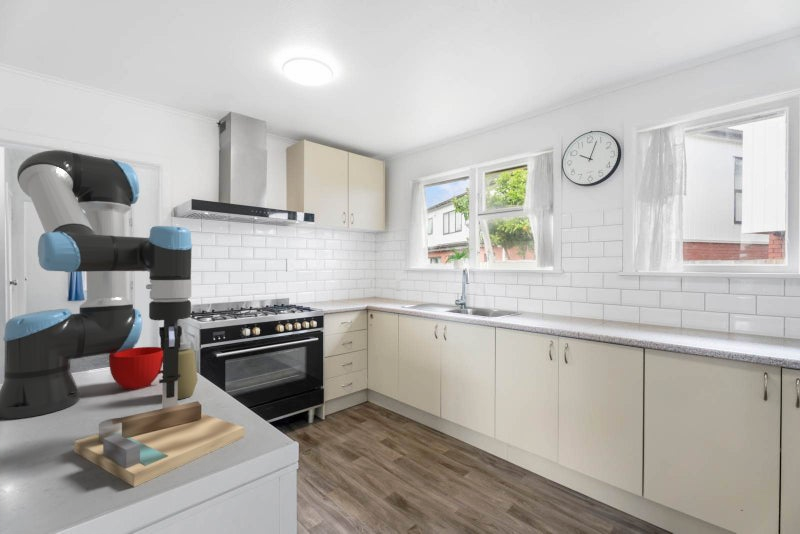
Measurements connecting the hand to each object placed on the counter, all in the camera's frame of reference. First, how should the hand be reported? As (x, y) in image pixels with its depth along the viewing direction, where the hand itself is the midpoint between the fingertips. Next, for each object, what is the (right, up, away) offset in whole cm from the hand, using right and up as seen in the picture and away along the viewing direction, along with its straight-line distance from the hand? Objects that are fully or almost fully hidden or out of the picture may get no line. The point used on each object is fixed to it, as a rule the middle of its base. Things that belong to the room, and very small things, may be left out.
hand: (169, 411), depth 79 cm
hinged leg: (-1, -2, -4) cm, 4 cm away
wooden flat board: (+2, -4, -6) cm, 8 cm away
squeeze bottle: (-10, -4, +21) cm, 23 cm away
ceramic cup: (-26, -4, +30) cm, 39 cm away
